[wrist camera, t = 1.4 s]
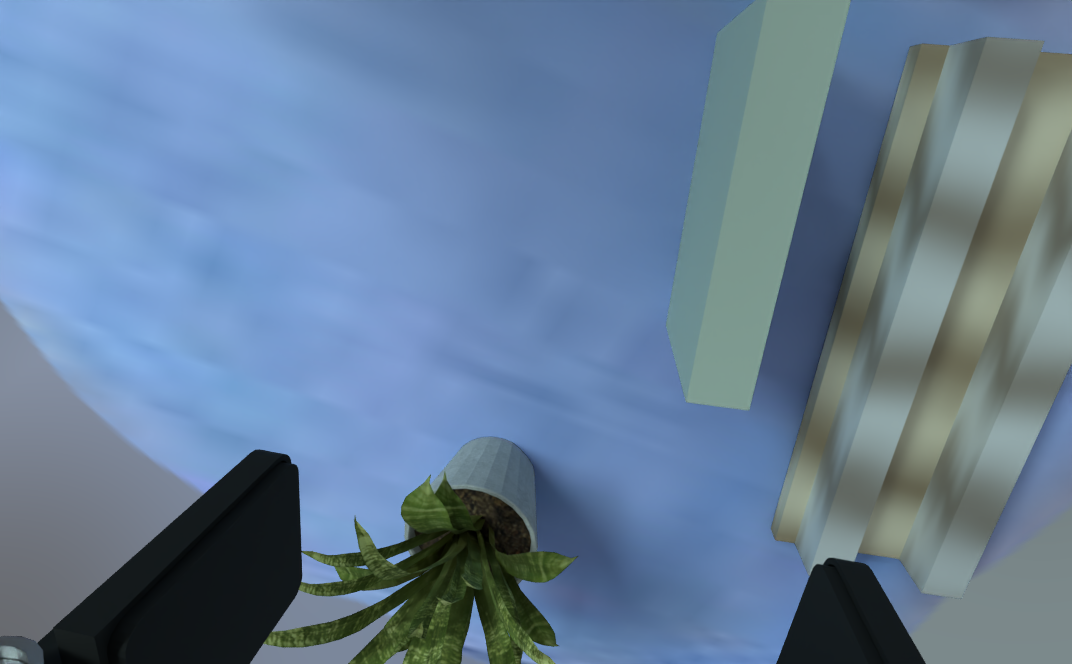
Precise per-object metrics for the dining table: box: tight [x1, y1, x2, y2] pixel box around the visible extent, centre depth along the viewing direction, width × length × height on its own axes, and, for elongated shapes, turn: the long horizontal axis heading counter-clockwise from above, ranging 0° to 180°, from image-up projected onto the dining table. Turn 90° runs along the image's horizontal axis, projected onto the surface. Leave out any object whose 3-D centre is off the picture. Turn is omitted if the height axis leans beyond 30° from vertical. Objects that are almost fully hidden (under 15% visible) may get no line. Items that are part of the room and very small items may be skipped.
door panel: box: [666, 0, 851, 410], centre depth 23 cm, size 14×2×9 cm, turn 175°
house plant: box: [263, 437, 578, 664], centre depth 27 cm, size 14×14×16 cm
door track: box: [771, 37, 1072, 599], centre depth 27 cm, size 26×10×4 cm, turn 175°
